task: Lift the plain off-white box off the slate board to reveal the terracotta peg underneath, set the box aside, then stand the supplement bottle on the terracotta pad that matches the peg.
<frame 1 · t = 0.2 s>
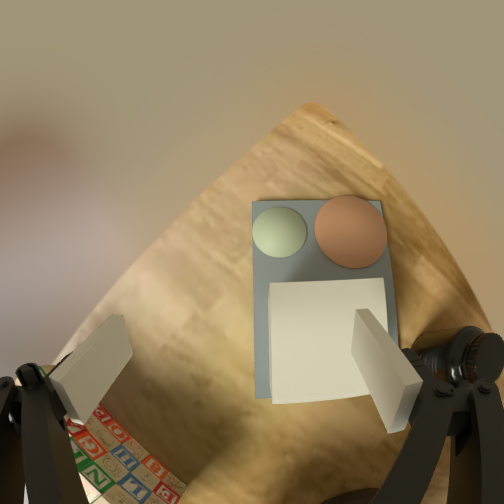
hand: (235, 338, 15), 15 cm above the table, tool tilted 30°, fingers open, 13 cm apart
plain off-white box: (312, 340, 28), point 1 cm above the table, touching board
stack of blocks: (112, 439, 26), on the table
board: (326, 294, 30), on the table
supplement bottle: (427, 358, 27), on the table
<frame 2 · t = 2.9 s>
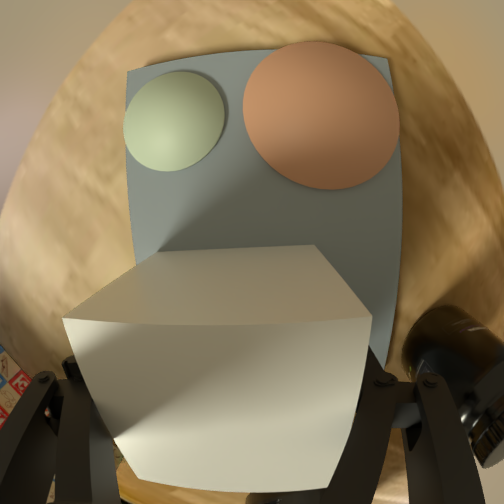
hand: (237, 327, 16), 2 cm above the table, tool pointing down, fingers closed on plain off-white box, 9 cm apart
plain off-white box: (238, 321, 17), point 1 cm above the table, touching board, gripper
stack of blocks: (47, 404, 22), on the table
board: (268, 233, 17), on the table
supplement bottle: (432, 340, 18), on the table
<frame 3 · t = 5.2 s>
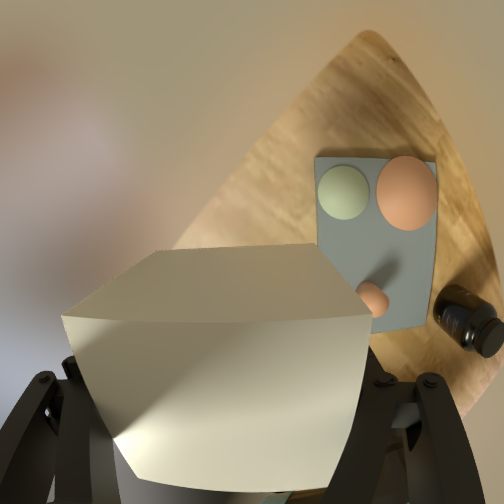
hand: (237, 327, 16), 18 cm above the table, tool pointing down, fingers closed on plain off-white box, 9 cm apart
plain off-white box: (238, 320, 17), point 17 cm above the table, touching gripper
board: (379, 249, 32), on the table
supplement bottle: (447, 304, 34), on the table
when the fingers open (2 cm above the table, at t = 8.0 s): plain off-white box drops 2 cm, on the table.
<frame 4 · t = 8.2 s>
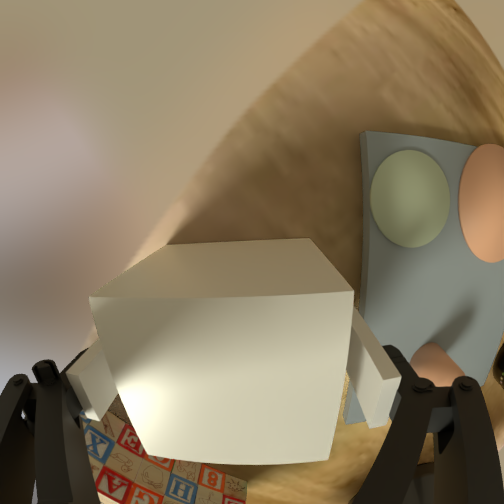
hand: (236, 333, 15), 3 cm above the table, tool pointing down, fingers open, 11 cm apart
plain off-white box: (240, 308, 18), on the table
stack of blocks: (154, 452, 23), on the table
board: (449, 291, 17), on the table
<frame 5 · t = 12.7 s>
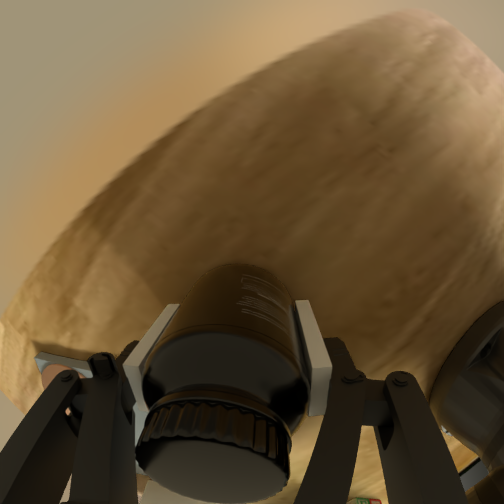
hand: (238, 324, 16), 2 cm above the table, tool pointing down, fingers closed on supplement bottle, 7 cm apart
plain off-white box: (189, 499, 25), on the table
board: (155, 432, 21), on the table
supplement bottle: (240, 311, 18), on the table, touching gripper
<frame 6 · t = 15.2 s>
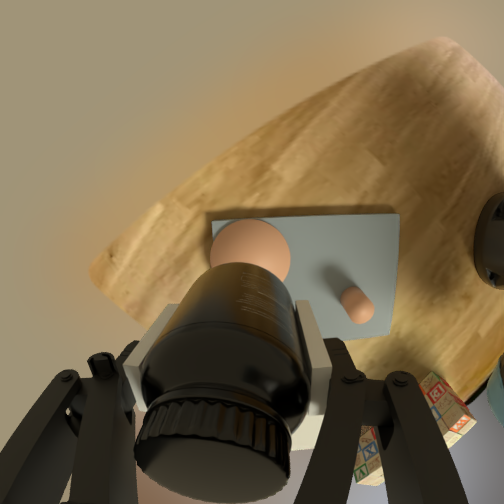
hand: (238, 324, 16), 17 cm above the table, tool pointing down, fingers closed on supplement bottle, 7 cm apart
plain off-white box: (306, 384, 37), on the table
stack of blocks: (397, 416, 39), on the table
board: (310, 281, 33), on the table
supplement bottle: (240, 310, 18), point 15 cm above the table, touching gripper
when the fingers open (4 cm above the table, at t = 17.8 s): supplement bottle drops 1 cm, resting on board.
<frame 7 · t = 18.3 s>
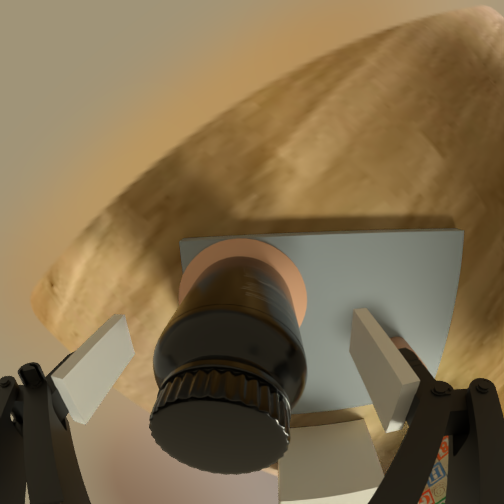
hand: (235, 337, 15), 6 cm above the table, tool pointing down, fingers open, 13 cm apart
plain off-white box: (318, 448, 25), on the table
stack of blocks: (417, 465, 27), on the table
board: (334, 331, 21), on the table
supplement bottle: (241, 301, 19), point 1 cm above the table, touching board
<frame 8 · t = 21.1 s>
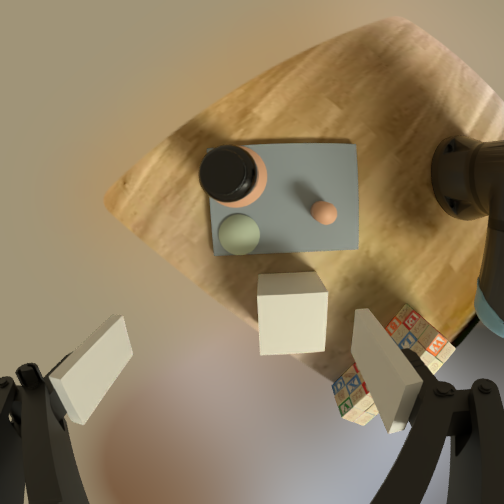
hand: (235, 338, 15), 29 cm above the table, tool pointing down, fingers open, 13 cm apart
plain off-white box: (287, 299, 45), on the table
stack of blocks: (378, 352, 47), on the table
board: (285, 197, 41), on the table
supplement bottle: (235, 175, 39), point 1 cm above the table, touching board
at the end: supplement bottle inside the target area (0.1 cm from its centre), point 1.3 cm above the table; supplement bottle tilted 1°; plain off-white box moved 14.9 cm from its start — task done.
